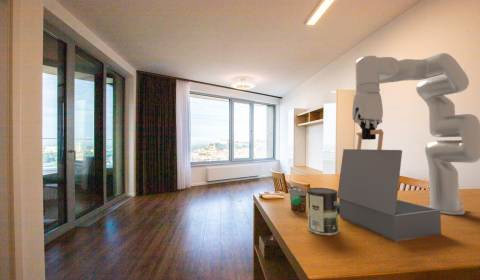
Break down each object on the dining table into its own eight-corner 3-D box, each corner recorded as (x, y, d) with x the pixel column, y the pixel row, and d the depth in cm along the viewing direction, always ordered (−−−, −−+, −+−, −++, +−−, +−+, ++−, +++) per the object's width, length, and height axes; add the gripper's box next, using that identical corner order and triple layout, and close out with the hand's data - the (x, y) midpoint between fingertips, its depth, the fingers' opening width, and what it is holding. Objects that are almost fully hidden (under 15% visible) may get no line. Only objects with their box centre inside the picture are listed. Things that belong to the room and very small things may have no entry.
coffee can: (337, 226, 79) (336, 188, 80) (339, 237, 70) (338, 194, 70) (308, 223, 83) (307, 186, 83) (306, 233, 73) (306, 192, 74)
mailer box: (377, 212, 94) (377, 194, 94) (441, 234, 71) (440, 210, 71) (339, 217, 89) (339, 198, 89) (395, 242, 66) (394, 216, 66)
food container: (285, 206, 106) (285, 186, 106) (297, 205, 107) (296, 185, 107) (293, 214, 94) (293, 191, 94) (307, 213, 94) (306, 191, 95)
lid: (347, 133, 92) (343, 132, 91) (404, 128, 68) (399, 126, 67) (338, 197, 90) (334, 197, 89) (395, 216, 66) (390, 215, 65)
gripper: (375, 94, 86) (376, 139, 85) (342, 91, 81) (343, 139, 81) (393, 89, 78) (394, 139, 78) (358, 86, 74) (359, 139, 74)
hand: (368, 139), depth 79 cm, fingers closed on lid
